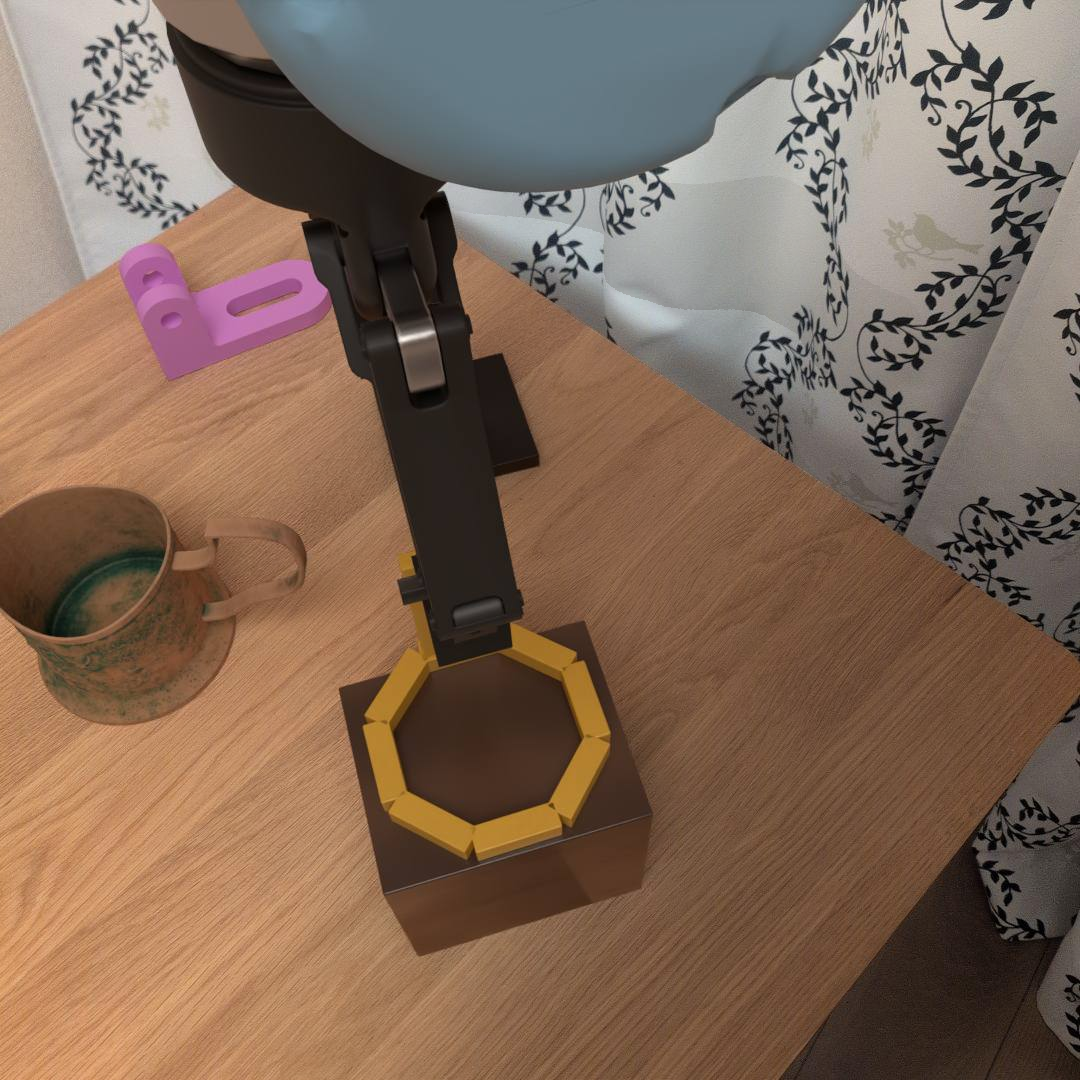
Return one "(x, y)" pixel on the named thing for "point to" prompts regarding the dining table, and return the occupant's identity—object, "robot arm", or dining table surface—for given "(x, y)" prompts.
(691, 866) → the dining table surface
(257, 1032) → the dining table surface
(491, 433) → the post
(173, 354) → the bracket
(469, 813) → the block
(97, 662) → the mug
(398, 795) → the ring
